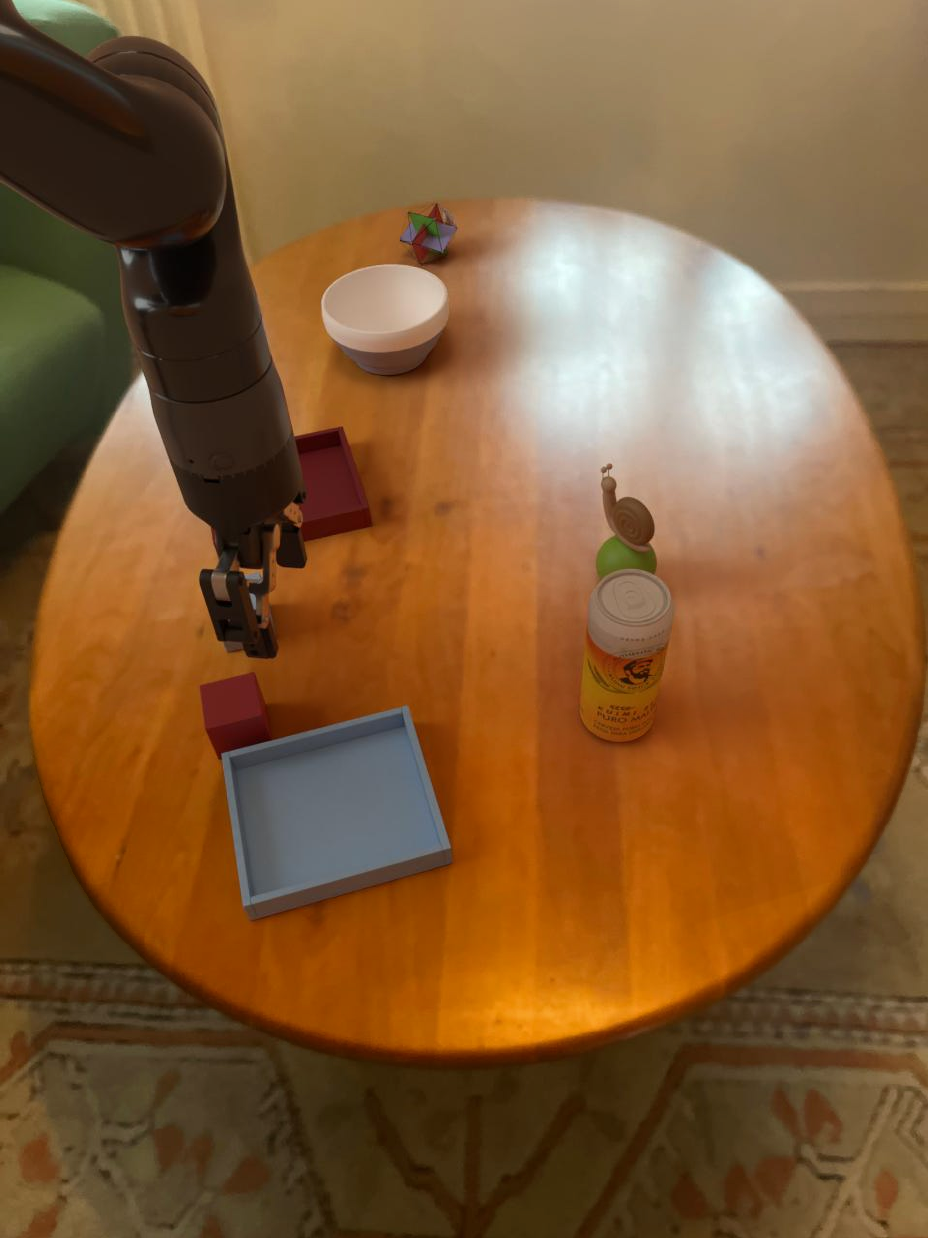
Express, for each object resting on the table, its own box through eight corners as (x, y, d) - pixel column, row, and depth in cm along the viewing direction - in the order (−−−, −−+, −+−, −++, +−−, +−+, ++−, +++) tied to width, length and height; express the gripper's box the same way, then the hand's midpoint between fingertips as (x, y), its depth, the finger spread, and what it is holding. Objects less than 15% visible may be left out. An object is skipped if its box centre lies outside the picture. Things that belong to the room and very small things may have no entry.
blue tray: (250, 921, 69) (242, 907, 67) (228, 769, 77) (221, 753, 75) (453, 863, 71) (451, 847, 69) (410, 722, 79) (407, 704, 77)
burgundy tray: (219, 560, 92) (213, 542, 90) (205, 474, 100) (199, 456, 98) (372, 525, 94) (369, 507, 92) (345, 444, 103) (342, 425, 101)
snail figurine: (615, 547, 91) (626, 450, 82) (665, 585, 88) (683, 487, 78) (574, 575, 89) (581, 478, 80) (624, 614, 86) (637, 518, 76)
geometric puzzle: (428, 266, 121) (446, 201, 119) (384, 253, 124) (400, 189, 121) (454, 276, 128) (471, 214, 125) (411, 263, 130) (427, 203, 128)
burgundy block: (218, 760, 78) (204, 729, 74) (212, 716, 80) (199, 684, 77) (273, 745, 78) (262, 714, 75) (265, 703, 81) (254, 671, 78)
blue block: (227, 652, 85) (214, 620, 81) (221, 616, 88) (209, 583, 84) (277, 640, 85) (267, 607, 82) (269, 604, 88) (259, 571, 85)
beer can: (594, 755, 76) (608, 638, 65) (568, 696, 80) (577, 575, 69) (665, 736, 77) (691, 616, 66) (635, 678, 81) (655, 556, 70)
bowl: (440, 396, 107) (436, 337, 102) (316, 388, 109) (305, 330, 103) (461, 323, 116) (458, 265, 111) (346, 317, 118) (337, 260, 113)
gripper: (203, 356, 61) (255, 535, 74) (124, 508, 52) (198, 683, 65) (316, 361, 60) (349, 541, 73) (256, 516, 51) (306, 692, 64)
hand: (278, 607), depth 69 cm, fingers open, 8 cm apart
